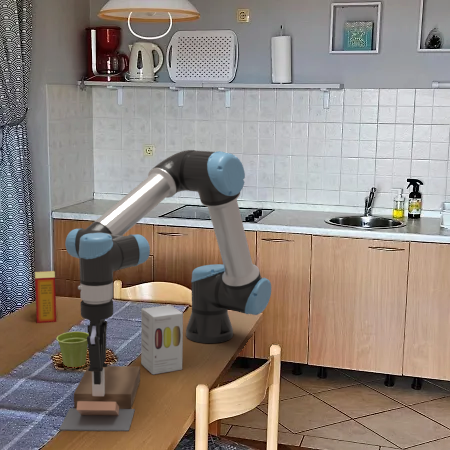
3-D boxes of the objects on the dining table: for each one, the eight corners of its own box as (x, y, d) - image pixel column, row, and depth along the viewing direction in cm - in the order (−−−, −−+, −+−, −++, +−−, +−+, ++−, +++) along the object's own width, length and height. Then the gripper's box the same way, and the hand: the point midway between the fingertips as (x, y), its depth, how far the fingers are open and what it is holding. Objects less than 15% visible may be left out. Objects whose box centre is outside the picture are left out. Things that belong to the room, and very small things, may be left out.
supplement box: (152, 375, 192) (151, 317, 189) (140, 364, 200) (139, 308, 197) (183, 369, 197) (183, 312, 194) (170, 358, 205) (170, 303, 202)
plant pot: (74, 374, 192) (74, 344, 191) (50, 367, 197) (49, 338, 195) (98, 364, 200) (97, 335, 198) (73, 357, 205) (73, 329, 203)
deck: (140, 380, 189) (139, 366, 188) (131, 409, 171) (130, 394, 170) (88, 379, 189) (88, 365, 188) (74, 408, 171) (73, 393, 170)
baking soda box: (36, 314, 244) (35, 270, 242) (55, 313, 246) (54, 269, 243) (36, 323, 235) (35, 277, 233) (56, 321, 237) (55, 276, 234)
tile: (115, 401, 162) (115, 410, 162) (119, 407, 168) (118, 415, 167) (77, 401, 162) (76, 409, 162) (82, 406, 168) (81, 415, 167)
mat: (134, 410, 171) (134, 408, 171) (128, 431, 160) (128, 429, 160) (69, 409, 171) (69, 408, 171) (59, 430, 160) (59, 429, 160)
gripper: (86, 291, 168) (88, 383, 172) (74, 307, 156) (77, 406, 160) (117, 292, 168) (118, 384, 172) (108, 308, 155) (109, 406, 160)
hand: (98, 394), depth 166 cm, fingers closed
